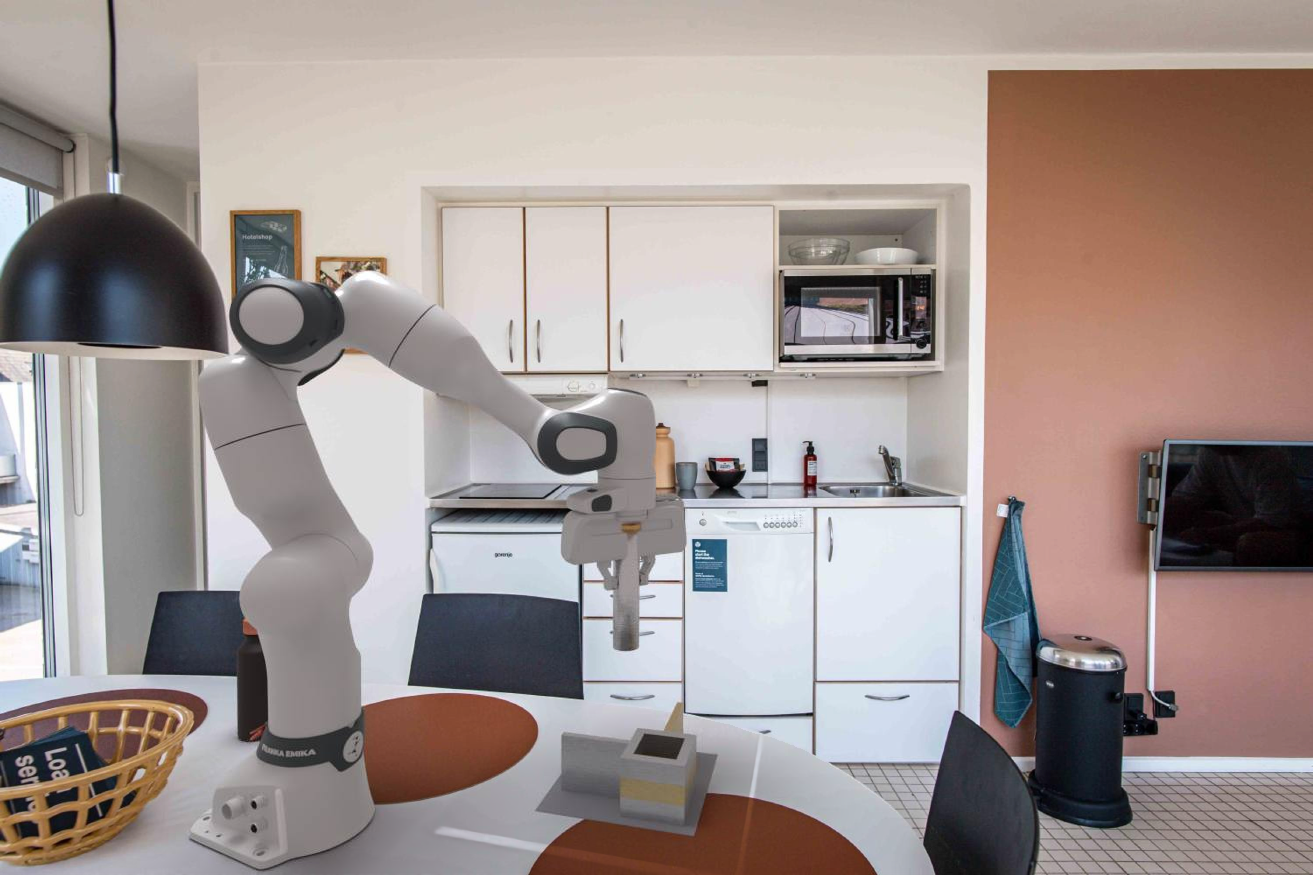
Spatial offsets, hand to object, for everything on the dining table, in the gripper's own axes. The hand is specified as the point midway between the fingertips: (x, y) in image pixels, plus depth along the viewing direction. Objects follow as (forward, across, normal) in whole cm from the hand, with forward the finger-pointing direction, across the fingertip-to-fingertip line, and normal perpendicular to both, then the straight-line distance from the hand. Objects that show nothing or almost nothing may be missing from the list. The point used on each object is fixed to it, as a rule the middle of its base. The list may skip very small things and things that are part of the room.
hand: (626, 587), depth 98 cm
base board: (+29, 0, +3) cm, 29 cm away
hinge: (+28, 0, +3) cm, 28 cm away
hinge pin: (+9, 0, 0) cm, 9 cm away
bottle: (+29, +47, -45) cm, 71 cm away
